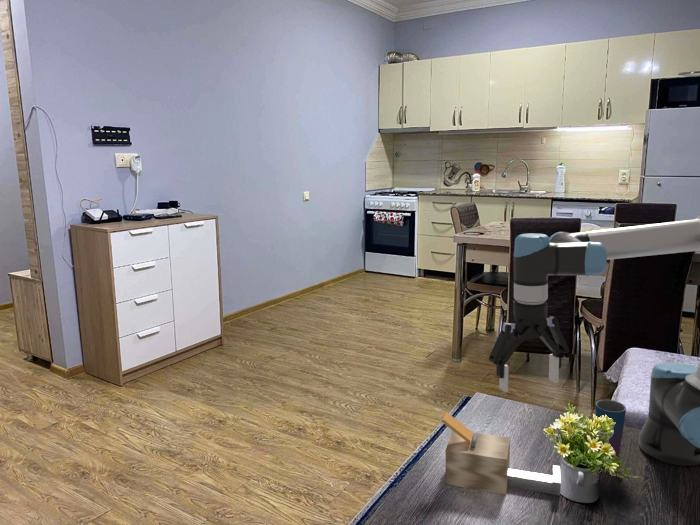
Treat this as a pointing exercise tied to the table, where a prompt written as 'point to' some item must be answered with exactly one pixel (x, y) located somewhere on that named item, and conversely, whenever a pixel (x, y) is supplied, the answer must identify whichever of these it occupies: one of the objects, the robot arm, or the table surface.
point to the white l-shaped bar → (535, 480)
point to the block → (478, 462)
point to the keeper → (459, 429)
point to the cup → (617, 414)
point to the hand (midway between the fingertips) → (528, 385)
